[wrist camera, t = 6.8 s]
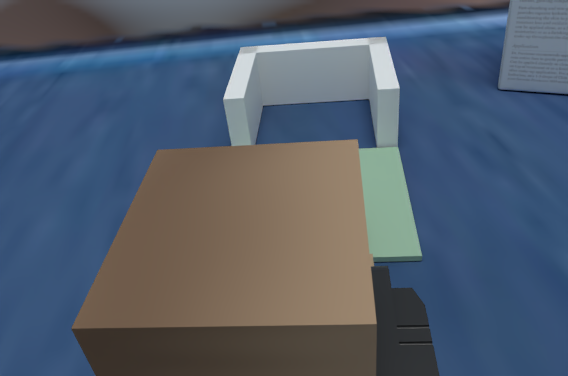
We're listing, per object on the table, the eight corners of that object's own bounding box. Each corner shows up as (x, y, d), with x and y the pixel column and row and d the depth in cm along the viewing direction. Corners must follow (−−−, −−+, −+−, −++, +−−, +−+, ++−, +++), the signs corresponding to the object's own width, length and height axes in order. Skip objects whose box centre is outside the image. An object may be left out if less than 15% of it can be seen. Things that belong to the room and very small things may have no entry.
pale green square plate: (397, 151, 31) (398, 146, 31) (421, 260, 24) (421, 255, 23) (233, 159, 32) (232, 155, 32) (205, 266, 25) (204, 262, 24)
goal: (384, 90, 38) (385, 36, 35) (397, 149, 31) (399, 88, 29) (248, 99, 39) (240, 47, 36) (233, 157, 32) (223, 99, 30)
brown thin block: (357, 235, 25) (352, -27, 18) (389, 641, 13) (413, 323, 6) (266, 238, 25) (226, -16, 18) (215, 632, 13) (39, 329, 6)
